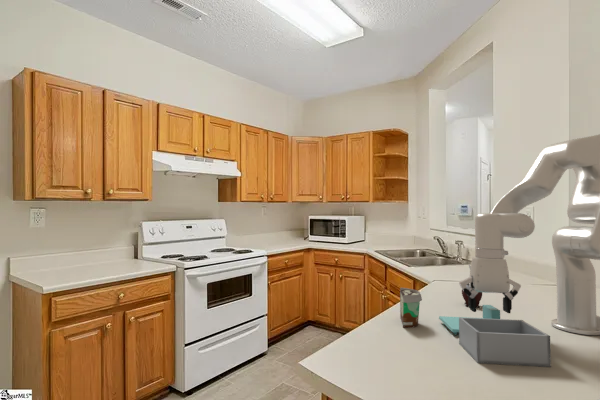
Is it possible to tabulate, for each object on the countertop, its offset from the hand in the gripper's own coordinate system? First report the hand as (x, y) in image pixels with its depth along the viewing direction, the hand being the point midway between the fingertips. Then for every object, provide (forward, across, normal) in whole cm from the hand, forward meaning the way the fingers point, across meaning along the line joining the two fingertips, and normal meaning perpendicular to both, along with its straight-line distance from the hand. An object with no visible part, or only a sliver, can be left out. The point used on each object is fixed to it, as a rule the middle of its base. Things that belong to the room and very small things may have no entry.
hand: (489, 311), depth 103 cm
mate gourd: (+6, -6, -30) cm, 31 cm away
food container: (+6, +22, -4) cm, 23 cm away
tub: (+6, +5, +18) cm, 20 cm away
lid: (+6, +5, 0) cm, 7 cm away
